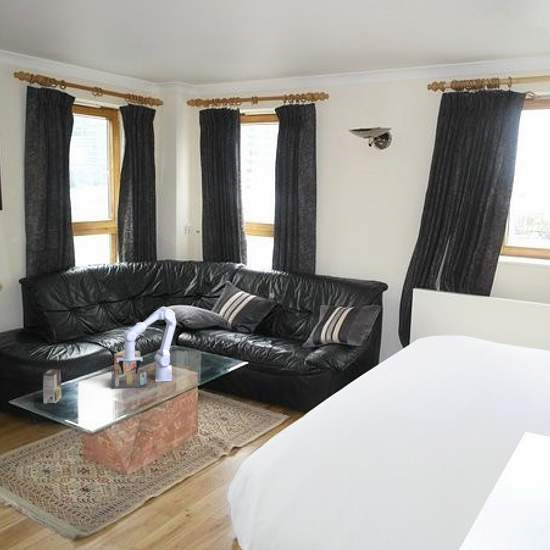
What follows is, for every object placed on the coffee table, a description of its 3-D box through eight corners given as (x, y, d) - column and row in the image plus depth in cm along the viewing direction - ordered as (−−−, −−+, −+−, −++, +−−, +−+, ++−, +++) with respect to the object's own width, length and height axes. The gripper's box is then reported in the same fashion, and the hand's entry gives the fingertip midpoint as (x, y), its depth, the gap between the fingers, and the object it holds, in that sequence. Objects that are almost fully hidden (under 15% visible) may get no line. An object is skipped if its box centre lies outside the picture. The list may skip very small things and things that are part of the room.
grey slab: (146, 380, 355) (146, 371, 354) (147, 387, 343) (147, 378, 342) (112, 382, 350) (112, 373, 349) (111, 388, 338) (111, 379, 338)
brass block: (132, 380, 350) (132, 373, 350) (132, 384, 344) (132, 377, 343) (126, 381, 350) (126, 373, 349) (126, 385, 343) (126, 377, 342)
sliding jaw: (146, 379, 353) (146, 370, 353) (146, 384, 344) (146, 376, 343) (140, 379, 353) (140, 371, 352) (140, 385, 343) (140, 376, 342)
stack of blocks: (132, 363, 387) (132, 345, 385) (140, 365, 385) (140, 346, 383) (114, 373, 366) (114, 354, 365) (123, 374, 365) (123, 355, 363)
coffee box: (50, 397, 322) (49, 368, 319) (61, 398, 322) (61, 369, 319) (43, 403, 313) (42, 374, 310) (55, 404, 313) (54, 374, 310)
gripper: (142, 348, 349) (142, 370, 351) (116, 349, 346) (117, 371, 348) (142, 351, 342) (142, 374, 344) (116, 352, 339) (116, 375, 341)
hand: (129, 373), depth 346 cm, fingers open, 7 cm apart
